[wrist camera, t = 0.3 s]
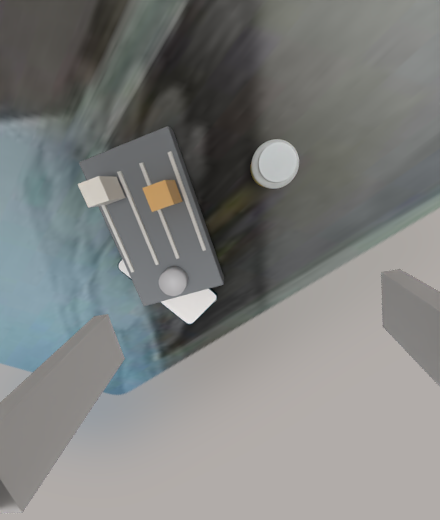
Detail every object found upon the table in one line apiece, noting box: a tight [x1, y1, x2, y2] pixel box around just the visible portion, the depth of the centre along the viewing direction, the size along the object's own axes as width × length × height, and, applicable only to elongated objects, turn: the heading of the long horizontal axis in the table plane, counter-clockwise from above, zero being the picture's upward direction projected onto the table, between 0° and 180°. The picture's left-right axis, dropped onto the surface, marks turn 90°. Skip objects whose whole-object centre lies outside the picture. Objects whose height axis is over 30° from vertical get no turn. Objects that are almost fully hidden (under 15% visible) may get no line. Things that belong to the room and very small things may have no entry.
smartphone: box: [118, 259, 217, 324], centre depth 41 cm, size 8×1×16 cm
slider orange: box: [142, 180, 183, 212], centre depth 32 cm, size 3×3×4 cm
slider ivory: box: [78, 176, 125, 208], centre depth 33 cm, size 3×3×4 cm
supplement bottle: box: [251, 139, 299, 189], centre depth 30 cm, size 5×5×10 cm
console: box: [79, 126, 224, 306], centre depth 37 cm, size 23×14×4 cm, turn 18°
